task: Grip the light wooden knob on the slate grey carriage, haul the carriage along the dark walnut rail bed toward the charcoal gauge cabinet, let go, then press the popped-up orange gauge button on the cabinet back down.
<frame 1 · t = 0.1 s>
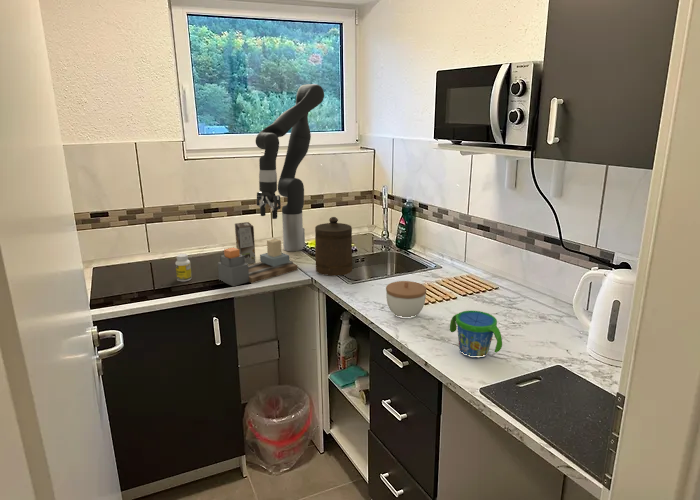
hand: (268, 217, 213), 17 cm above the worktop, tool pointing down, fingers open, 8 cm apart
supplement bottle: (184, 279, 187), on the worktop
lidded bowl: (405, 314, 155), on the worktop
wooden container: (333, 270, 197), on the worktop
rail bed: (265, 272, 195), on the worktop
carriage: (274, 251, 196), point 8 cm above the worktop, slide at 0.0 cm
coffee box: (246, 261, 209), on the worktop
gauge button: (231, 253, 182), point 11 cm above the worktop, slide at 0.0 cm
gauge cabinet: (233, 280, 185), on the worktop
snack cup: (473, 353, 131), on the worktop
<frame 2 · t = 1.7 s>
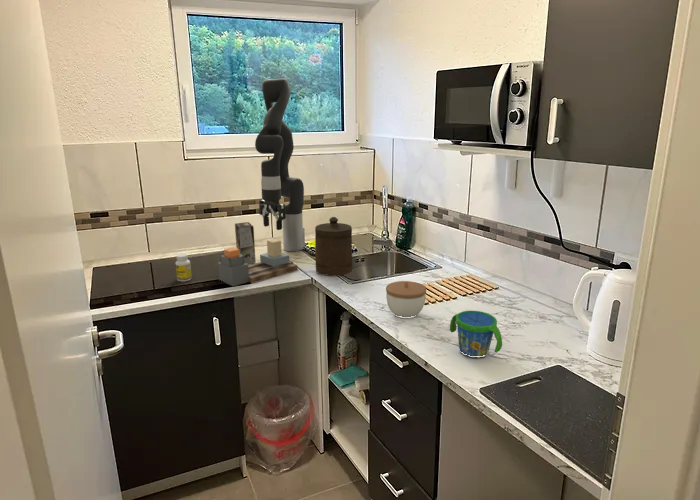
hand: (272, 227, 194), 17 cm above the worktop, tool pointing down, fingers open, 8 cm apart
nothing on the worktop moved.
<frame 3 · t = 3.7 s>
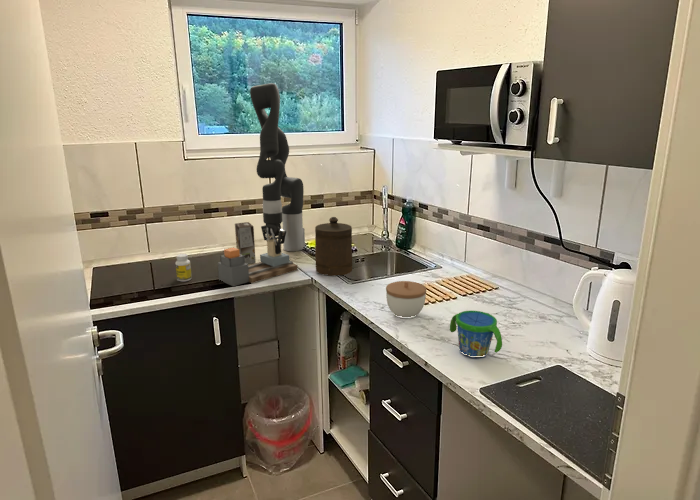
hand: (274, 252, 196), 7 cm above the worktop, tool pointing down, fingers closed on carriage, 4 cm apart
carriage: (274, 251, 196), point 8 cm above the worktop, slide at 0.0 cm, touching gripper
everything else where it was.
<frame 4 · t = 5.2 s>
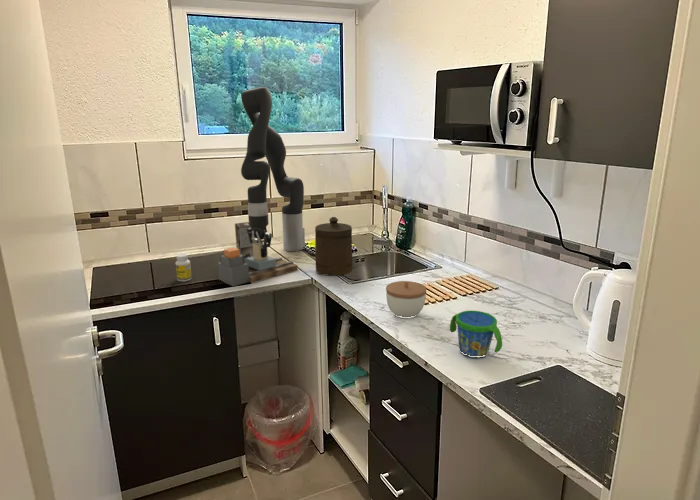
hand: (260, 255, 192), 7 cm above the worktop, tool pointing down, fingers closed on carriage, 4 cm apart
carriage: (260, 254, 192), point 8 cm above the worktop, slide at 6.8 cm, touching gripper
everything else where it was.
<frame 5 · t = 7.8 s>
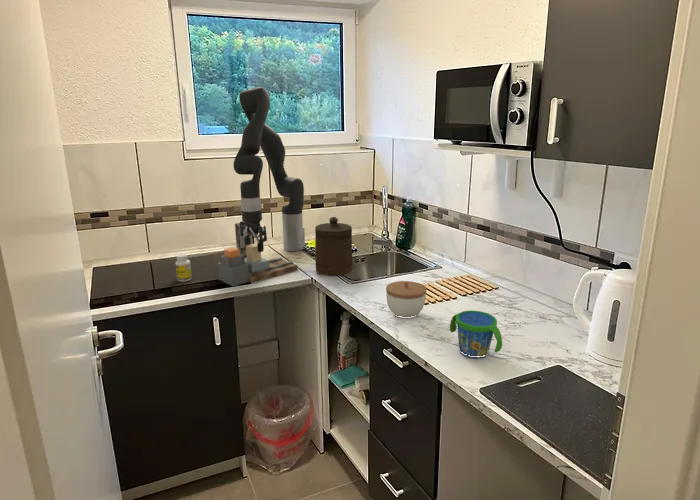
hand: (254, 249, 189), 10 cm above the worktop, tool pointing down, fingers open, 8 cm apart
carriage: (253, 256, 190), point 8 cm above the worktop, slide at 9.9 cm
everything else where it was.
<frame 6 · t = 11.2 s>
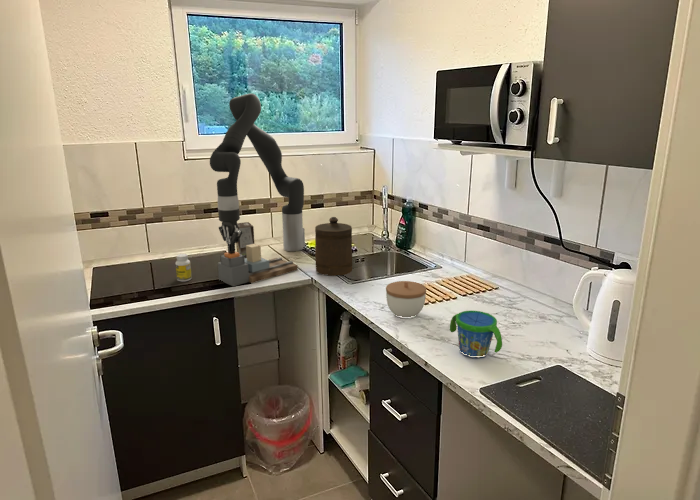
hand: (231, 252, 182), 11 cm above the worktop, tool pointing down, fingers closed
gauge button: (232, 256, 183), point 10 cm above the worktop, slide at 1.4 cm, touching gripper
everything else where it was.
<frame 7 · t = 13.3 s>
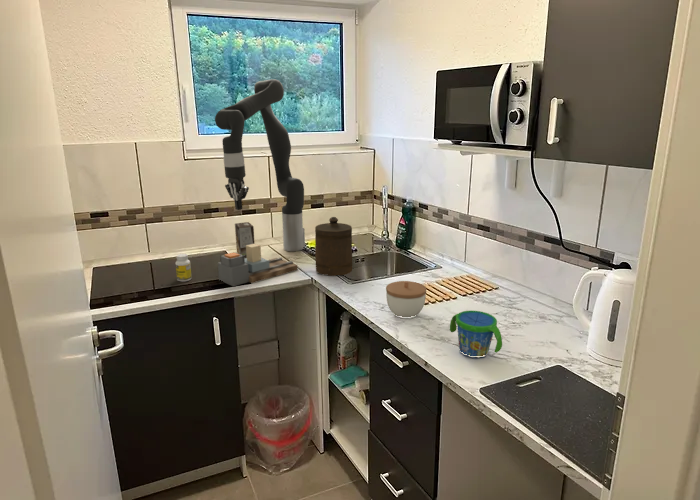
hand: (238, 209, 189), 25 cm above the worktop, tool pointing down, fingers closed
gauge button: (232, 258, 183), point 9 cm above the worktop, slide at 2.0 cm
everything else where it was.
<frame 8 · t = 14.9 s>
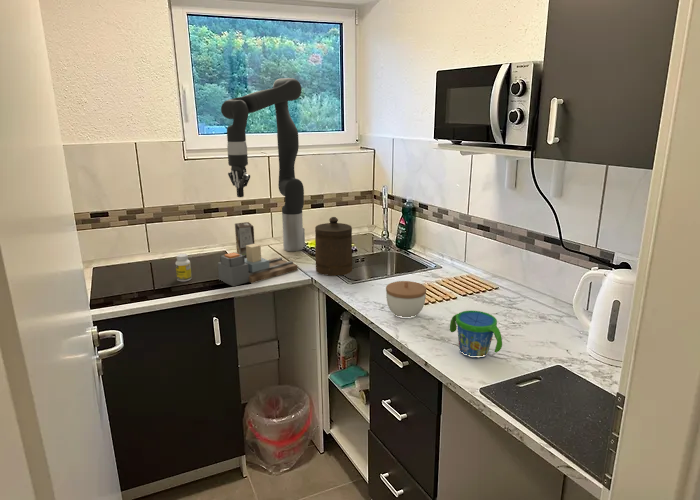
hand: (240, 196, 195), 29 cm above the worktop, tool pointing down, fingers closed
nothing on the worktop moved.
at the end: carriage slide at 9.9 cm; gauge button slide at 2.0 cm; the gripper is holding nothing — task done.
